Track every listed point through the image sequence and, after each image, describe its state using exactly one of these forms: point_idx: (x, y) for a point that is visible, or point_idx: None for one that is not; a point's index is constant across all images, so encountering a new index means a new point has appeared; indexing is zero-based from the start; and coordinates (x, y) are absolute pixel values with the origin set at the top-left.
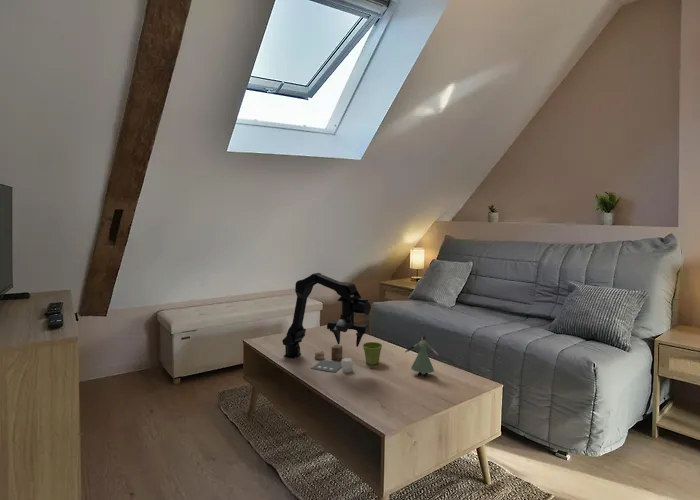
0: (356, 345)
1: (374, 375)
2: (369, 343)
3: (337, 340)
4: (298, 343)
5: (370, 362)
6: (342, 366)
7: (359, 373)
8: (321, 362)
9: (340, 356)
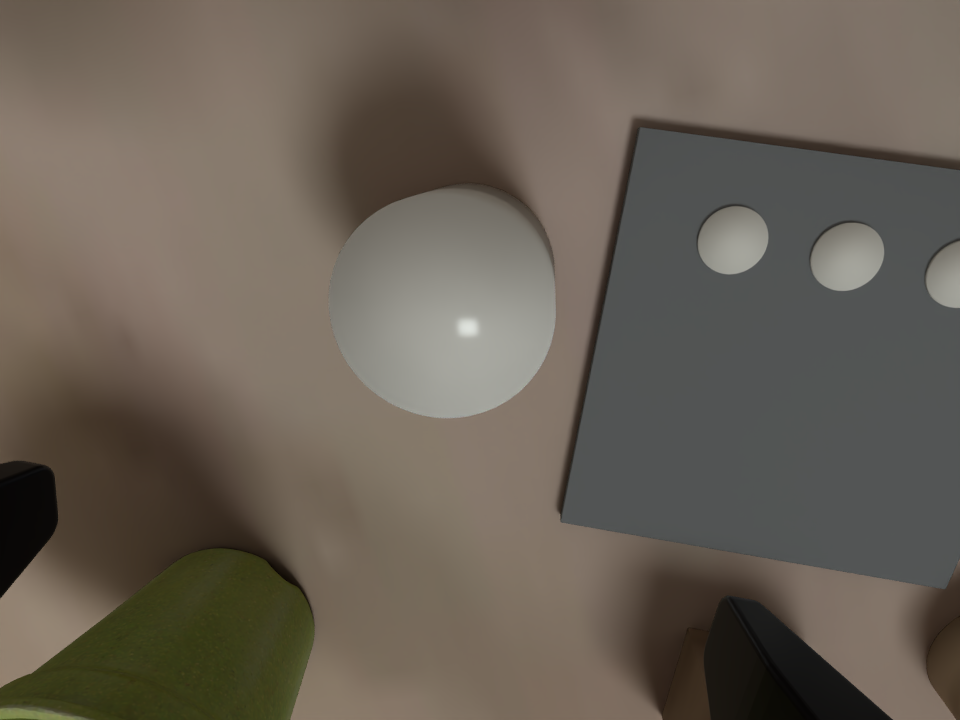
0: (1, 480)
1: (38, 189)
2: None
3: (830, 703)
4: None
5: (215, 564)
6: (522, 214)
7: (259, 208)
8: (952, 480)
9: (685, 698)
